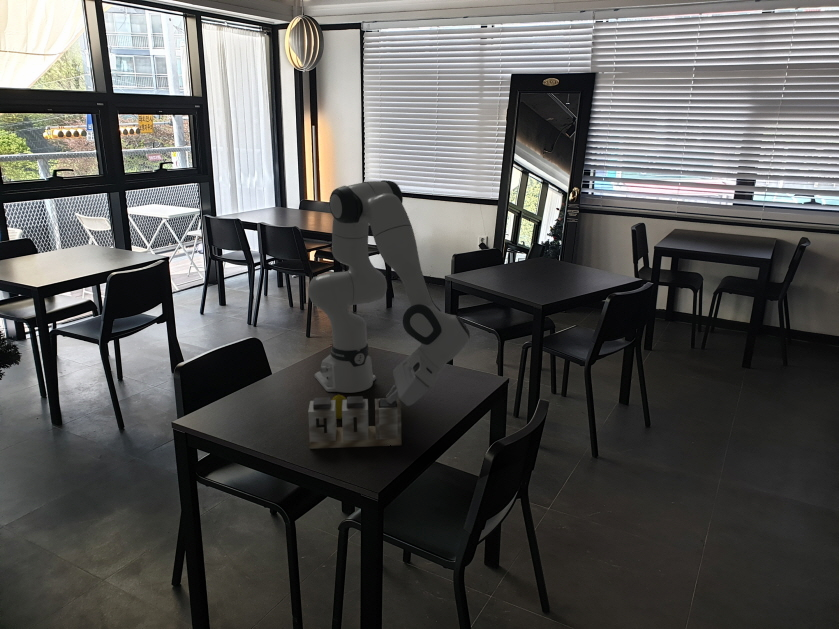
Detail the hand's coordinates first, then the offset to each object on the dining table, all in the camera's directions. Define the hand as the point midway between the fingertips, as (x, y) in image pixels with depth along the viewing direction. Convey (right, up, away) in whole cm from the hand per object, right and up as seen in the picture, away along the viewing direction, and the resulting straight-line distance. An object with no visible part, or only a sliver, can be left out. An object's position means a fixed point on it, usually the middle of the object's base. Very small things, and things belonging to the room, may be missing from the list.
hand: (387, 400), depth 178 cm
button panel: (-9, -11, +3) cm, 15 cm away
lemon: (-15, -8, +15) cm, 22 cm away
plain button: (0, -7, +2) cm, 7 cm away
